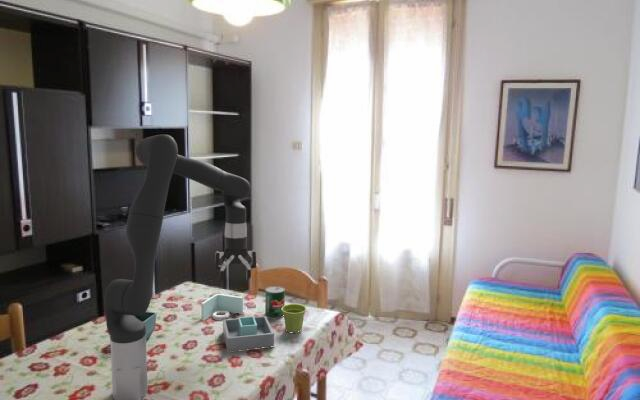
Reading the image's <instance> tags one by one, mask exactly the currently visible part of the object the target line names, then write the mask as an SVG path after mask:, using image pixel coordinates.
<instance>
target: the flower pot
mask: <svg viewBox="0 0 640 400" xmlns="http://www.w3.org/2000/svg"><path fill="white" fill-rule="evenodd" d="M135 317H136V318H137V319H139V320H140V321H142V322H143V323H144V324H145V326H146V341H147V340H148V339H150V338H151V336H152V335H153V333H154V331H155V328H156V322H157V312H153V311H146V312H145V313H144V314H142V315H140V316H135Z"/></svg>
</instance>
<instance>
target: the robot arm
mask: <svg viewBox="0 0 640 400" xmlns="http://www.w3.org/2000/svg"><path fill="white" fill-rule="evenodd" d="M178 153H179V149H178V144H177V142H176V140H175V139H174V137H172V136H171V135H169V134H162V133H161V134H157V135H152V136H147V137H145V138H143V139H141V140H140V141H139V142H138V143H137V145H136V147H135V156H136V158H137V160H138V161H139V162H140V164H142V165H144V166H145V167H147V168H146V169H147V170H146V174H145V175H146V176H145V179H144V182H143V183H142V185H141V187H140V189H139V191H138V192H137V194H136V196H135V197H134V199H133V201H132V204H131V205H130V209H129V212H128V215H127V216H128V217H127V221H126V222H127V223H126V227H125V235H126V239H127V241H128V245H129V247H130V251H131V253H132V256H133V259H134V274H133V279H132V280H131V279H125V278H116V279H113V280H112V281H110V283H109V284H108V286H107V287H106V290H105V293H104V298H103V299H104V301H103V302H104V313H105V324H106V329H107V332H108V333H109V338H110V339H109V340H110V362H111V363H110V365H111V366H110V367H111V385H112V390H111V391H112V399H113V400H142V398H144V397H145V396H146V395H147V393H148V390H149V389H148V388H149V387H148V360H147V359H148V358H147V357H148V356H147V340H146V326H145V324H144V323H143V322H142V321H140V320H139V319H137V318H136V317H135V316H140V315H142V314H144V313H145V312H148V308H149V307H150V303H151V301H152V295H153V286H154V279H155V278H154V277H155V267H156V265H155V264H156V259H157V257H156V256H157V251H158V247H159V240H160V236H161V231H162V227H163V222H164V221H163V220H164V215H165V207H166V204H167V203H166V202H167V198H168V193H169V188H170V184H171V183H170V182H171V179H172V176H173V174H175V175H178V176H180V177H183V178H186V179H189V180H191V181H194V182H196V183H199V184H201V185H203V186H205V187H208V188H209V189H212V190H215V191H221V195H222V200H223V204H224V207H225V209H224V210H225V226H224V251H219V250H216V251H215V254H214V255H215V258H214V270H218V271H219V278H220V281H221V282H225V269H226V268H227V267H228V266H229V264H230V265H236V264H238V265H240V264H243V265H244V266H245V267H246V273H245V274H246V275H245V276H246V281H249V280H250V279H251V278H252V269H256V268H257V252H256V251H255V249H252V250H248V247H247V246H248V244H247V243H248V235H247V234H248V226H247V207H246V206H245V205H243V204H242V202H241V200H242V199H246V198H248V197H249V195H250V194H251V192H252V186H251V184H250V182H249V181H248V180H247V179H246V178H244V177H241V176H239V175H236V174H233V173H230V172H227V171H224V170H223V169H221V168H219V167H217V166H215V165H213V164H211V163H208V162H205V161H202V160H198V159H194V158H190V157H188V156H187V157H186V156H183V155H180V154H178ZM248 255H249V257H250V258H251V264H249V262H248V261H247V260H246V258H247V257H248ZM222 256H223V257H224V258H225V260H224V261H223V263H222V264H221V265H220V259H221V258H222Z"/></svg>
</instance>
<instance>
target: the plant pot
mask: <svg viewBox="0 0 640 400" xmlns="http://www.w3.org/2000/svg"><path fill="white" fill-rule="evenodd" d="M282 311H283V314H284V316H283V317H284V318H283V319H284V327H285V331H286V330H287V331H289V332H294V333H297V332H298V331H300V330H301V331H302V330H303V325H304V324H303V323H304V317H305V314H306V311H307V307H306V306H305V305H303V304H300V303H289V304H284V306H283V307H282ZM287 331H286V332H287ZM301 331H300V332H301ZM289 332H288V333H289ZM298 333H299V332H298Z"/></svg>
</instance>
